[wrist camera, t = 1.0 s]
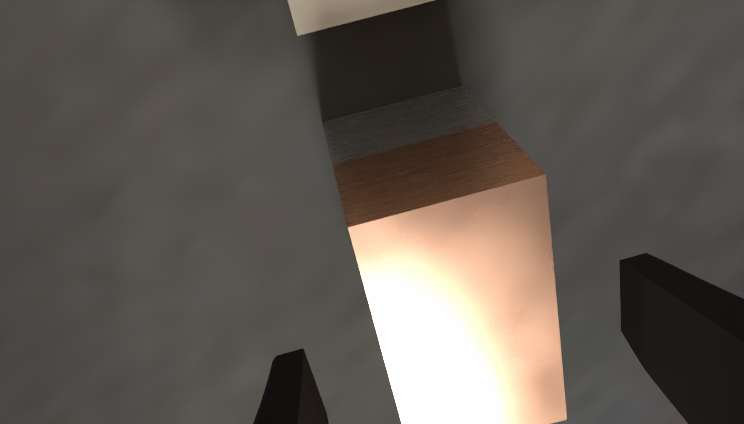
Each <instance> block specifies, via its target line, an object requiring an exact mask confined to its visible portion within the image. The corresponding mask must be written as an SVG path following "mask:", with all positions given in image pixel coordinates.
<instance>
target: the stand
mask: <svg viewBox="0 0 744 424" xmlns="http://www.w3.org/2000/svg"><path fill="white" fill-rule="evenodd" d="M431 1H434V0H288V3H289V7H290V11H291V14H292V18H293V21H294V25H295V29H296V32H297V36H299V35H303V34H307V33H311V32H314V31H318V30H322V29H326V28H330V27H334V26H338V25H342V24H345V23H349V22H353V21H357V20H361V19H365V18H369V17H372V16H376V15H380V14H384V13H388V12H392V11H396V10H400V9H403V8H407V7H411V6H415V5H419V4H423V3H427V2H431Z"/></svg>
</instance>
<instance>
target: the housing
mask: <svg viewBox="0 0 744 424" xmlns="http://www.w3.org/2000/svg"><path fill="white" fill-rule="evenodd" d="M322 124H323V128H324V132H325V136H326V140H327V144H328V148H329V152H330V156H331V161H332V165H333V169H334V173H335V177H336V181H337V185H338V189H339V193H340V197H341V202H342V206H343V210H344V214H345V218H346V222H347V226H348V230H349V233H350V237H351V241H352V244H353V248H354V252H355V255H356V259H357V262H358V266H359V270H360V273H361V277H362V281H363V284H364V288H365V291H366V295H367V299H368V302H369V306H370V310H371V313H372V317H373V320H374V324H375V328H376V331H377V335H378V339H379V342H380V346H381V349H382V353H383V357H384V360H385V364H386V368H387V371H388V375H389V378H390V382H391V386H392V389H393V393H394V397H395V400H396V404H397V407H398V411H399V415H400V418H401V422H402V424H552V423H555V422H559V421H562V420H566V419H567V415H566V403H565V392H564V380H563V368H562V357H561V345H560V333H559V322H558V310H557V299H556V287H555V275H554V264H553V252H552V240H551V229H550V217H549V206H548V194H547V182H546V174H545V173H544V172H543V171H542V170H541V169H540V168H539V167H538V166H537V165H536V163H535V162H534V161H533V160H532V159H531V158H530V157H529V156H528V155H527V154H526V153H525V152H524V151H523V150H522V149H521V148H520V147H519V146H518V144H517V143H516V142H515V141H514V140H513V139H512V138H511V137H510V136H509V135H508V134H507V133H506V132H505V131H504V130H503V129H502V128H501V126H500V125H499V124H498V123H497V122H496V121H495V120H494V119H493V118H492V117H491V116H490V115H489V114H488V113H487V112H486V111H485V110H484V109H483V107H482V106H481V105H480V104H479V103H478V102H477V101H476V100H475V99H474V98H473V97H472V96H471V95H470V94H469V93H468V92H467V91H466V89H465V88H464V87H463V86H462V85H461V86H457V87H454V88H450V89H446V90H442V91H438V92H435V93H431V94H427V95H423V96H419V97H416V98H412V99H408V100H404V101H400V102H397V103H393V104H389V105H385V106H381V107H378V108H374V109H370V110H366V111H362V112H359V113H355V114H351V115H347V116H343V117H340V118H336V119H332V120H328V121H324V122H322Z"/></svg>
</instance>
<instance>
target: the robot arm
mask: <svg viewBox="0 0 744 424" xmlns="http://www.w3.org/2000/svg"><path fill="white" fill-rule="evenodd" d="M620 298H621V331H622V333H623V335H624V336H625V338H626V340H627V341H628V343H629V345H630V346H631V348H632V350H633V351H634V353H635V355H636V356H637V358H638V359H639V361H640V363H641V364H642V366H643V367H644V369H645V370H646V371H647V373H648V374H649V375H650V377H651V378H652V379H653V380H654V382H655V383H656V384H657V385H658V387H659V388H660V389H661V390H662V392H663V393H664V394H665V395H666V397H667V398H668V399H669V400H670V402H671V403H672V404H673V405H674V407H675V408H676V409H677V410H678V412H679V413H680V414H681V415H682V416H683V418H684V419H685V420H686V421H687V423H688V424H744V299H743V298H741V297H738V296H736V295H734V294H732V293H729V292H727V291H725V290H723V289H721V288H719V287H716V286H714V285H712V284H710V283H708V282H706V281H704V280H702V279H700V278H698V277H696V276H693V275H691V274H689V273H687V272H685V271H683V270H681V269H679V268H677V267H675V266H673V265H671V264H669V263H667V262H664V261H662V260H660V259H658V258H656V257H654V256H652V255H649V254H647V253H645V254H641V255H637V256H634V257H630V258H627V259H623V260H620ZM253 424H329V423H328V418H327V413H326V410H325V407H324V405H323V402H322V399H321V396H320V394H319V391H318V388H317V385H316V382H315V380H314V377H313V374H312V371H311V368H310V366H309V363H308V360H307V357H306V354H305V352H304V349H300V350H296V351H292V352H289V353H285V354H282V355H278V356H276V357H275V359H274V360H273V362H272V366H271V370H270V374H269V378H268V381H267V385H266V388H265V391H264V394H263V397H262V400H261V404H260V407H259V410H258V412H257V415H256V418H255V420H254V423H253Z"/></svg>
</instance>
